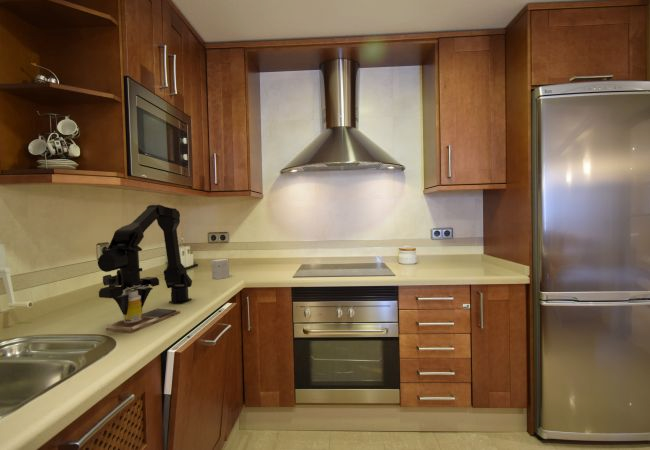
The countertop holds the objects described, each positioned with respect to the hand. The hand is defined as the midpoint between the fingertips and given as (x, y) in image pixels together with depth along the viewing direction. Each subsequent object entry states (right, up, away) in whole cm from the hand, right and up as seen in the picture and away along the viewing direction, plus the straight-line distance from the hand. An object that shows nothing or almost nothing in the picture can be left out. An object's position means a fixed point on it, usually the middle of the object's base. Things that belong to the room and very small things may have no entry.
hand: (132, 312), depth 114 cm
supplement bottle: (0, -3, 0) cm, 3 cm away
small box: (+6, -1, +78) cm, 78 cm away
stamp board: (+2, -4, +5) cm, 7 cm away
